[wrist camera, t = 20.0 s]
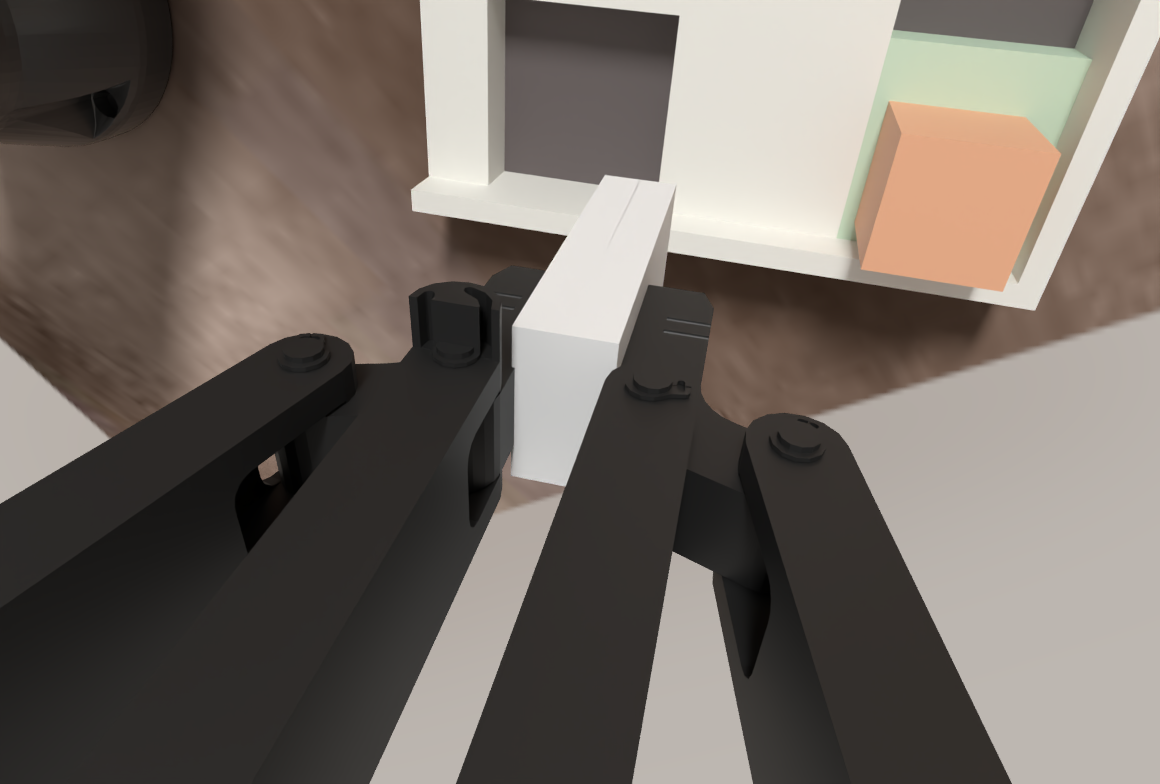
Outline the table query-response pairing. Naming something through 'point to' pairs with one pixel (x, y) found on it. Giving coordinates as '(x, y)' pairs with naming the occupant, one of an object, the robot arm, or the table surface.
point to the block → (951, 194)
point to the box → (761, 112)
